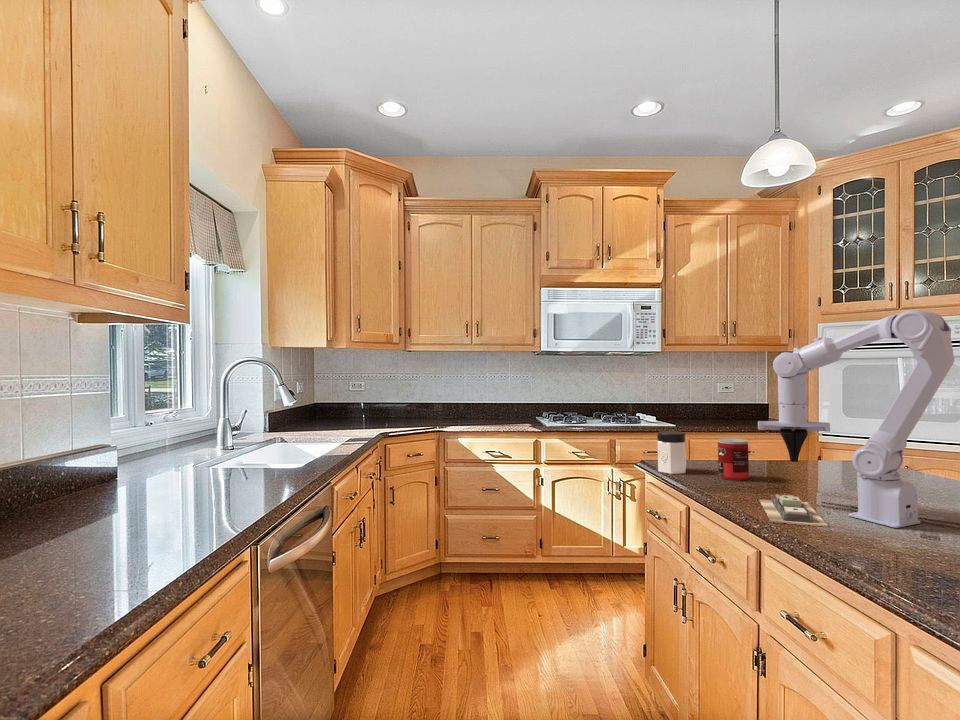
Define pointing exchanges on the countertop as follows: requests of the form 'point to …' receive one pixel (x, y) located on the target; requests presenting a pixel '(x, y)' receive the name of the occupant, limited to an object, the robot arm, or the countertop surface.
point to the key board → (779, 515)
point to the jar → (671, 452)
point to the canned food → (733, 459)
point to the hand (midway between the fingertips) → (793, 461)
